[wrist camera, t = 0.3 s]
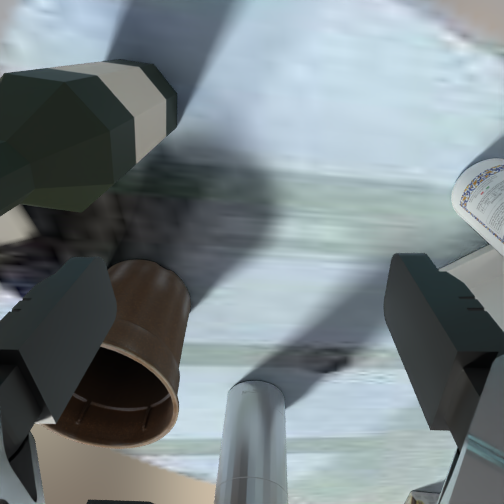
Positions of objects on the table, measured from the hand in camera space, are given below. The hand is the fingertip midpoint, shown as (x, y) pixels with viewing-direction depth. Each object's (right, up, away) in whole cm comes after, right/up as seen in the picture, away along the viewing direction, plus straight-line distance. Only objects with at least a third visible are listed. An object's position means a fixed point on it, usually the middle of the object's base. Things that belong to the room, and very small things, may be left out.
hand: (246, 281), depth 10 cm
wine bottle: (-11, +15, +25) cm, 32 cm away
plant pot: (-14, -5, +38) cm, 41 cm away
